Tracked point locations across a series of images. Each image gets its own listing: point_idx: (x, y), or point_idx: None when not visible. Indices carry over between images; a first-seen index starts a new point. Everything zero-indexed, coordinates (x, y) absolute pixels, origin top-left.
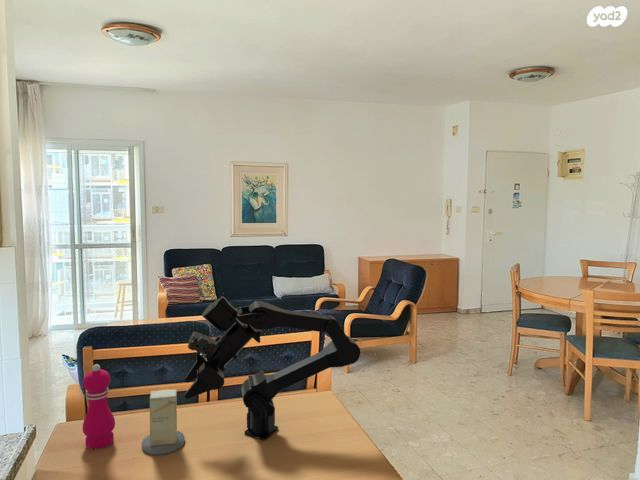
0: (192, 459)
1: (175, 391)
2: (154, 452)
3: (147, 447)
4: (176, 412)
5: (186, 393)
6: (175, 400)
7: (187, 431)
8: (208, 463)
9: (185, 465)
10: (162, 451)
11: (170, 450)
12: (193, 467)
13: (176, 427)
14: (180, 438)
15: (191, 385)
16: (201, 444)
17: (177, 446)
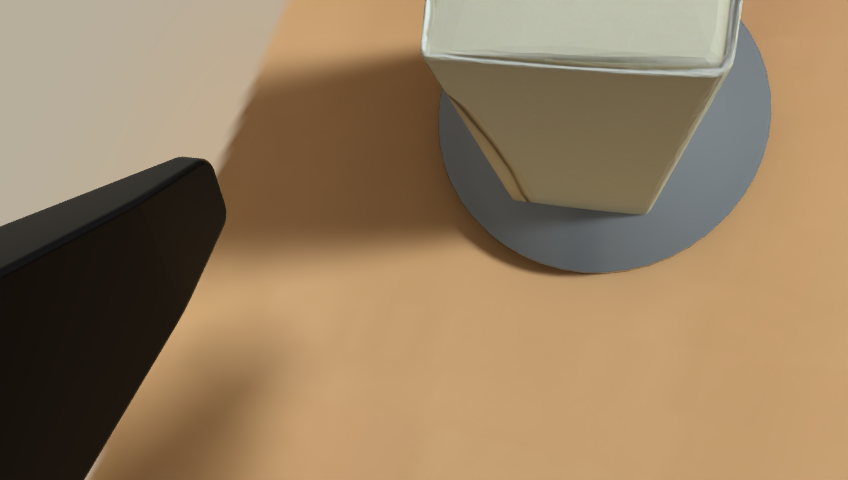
0: (319, 292)
1: (604, 52)
2: None
3: None
4: (556, 153)
5: (123, 180)
6: (438, 76)
7: (725, 313)
8: (238, 382)
9: (274, 242)
10: (442, 102)
11: (442, 156)
12: (236, 286)
13: (543, 184)
14: (577, 238)
15: (12, 260)
16: (478, 385)
17: (469, 206)
